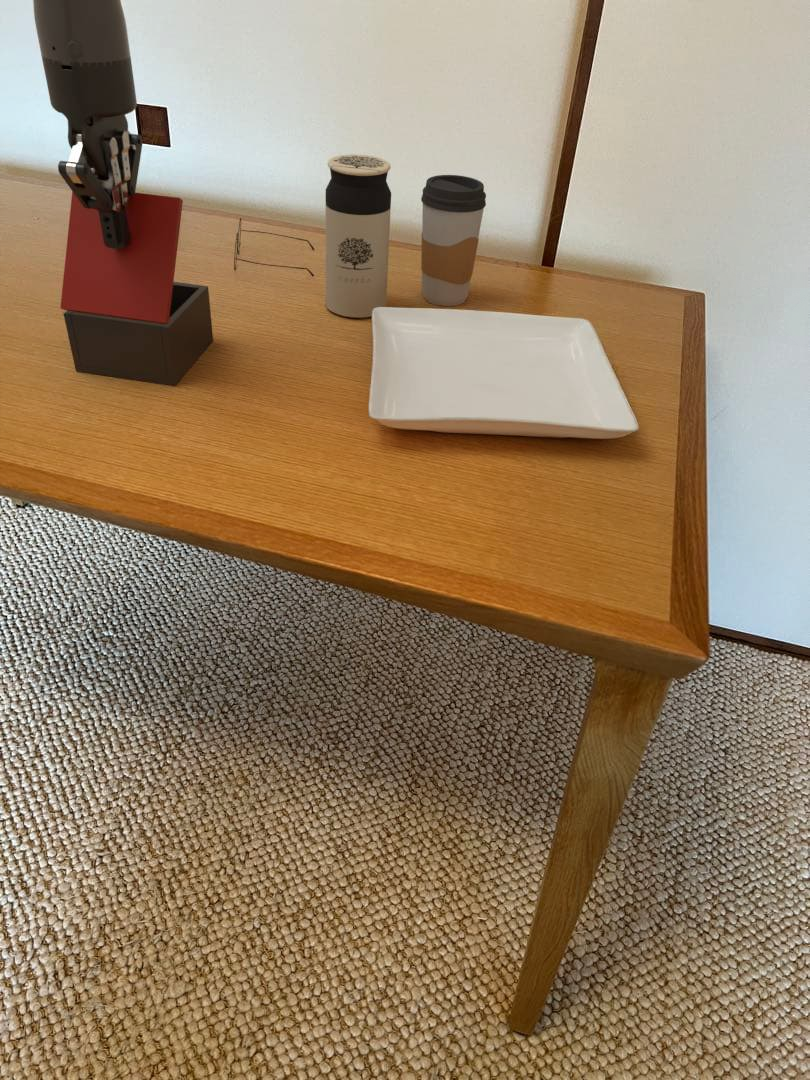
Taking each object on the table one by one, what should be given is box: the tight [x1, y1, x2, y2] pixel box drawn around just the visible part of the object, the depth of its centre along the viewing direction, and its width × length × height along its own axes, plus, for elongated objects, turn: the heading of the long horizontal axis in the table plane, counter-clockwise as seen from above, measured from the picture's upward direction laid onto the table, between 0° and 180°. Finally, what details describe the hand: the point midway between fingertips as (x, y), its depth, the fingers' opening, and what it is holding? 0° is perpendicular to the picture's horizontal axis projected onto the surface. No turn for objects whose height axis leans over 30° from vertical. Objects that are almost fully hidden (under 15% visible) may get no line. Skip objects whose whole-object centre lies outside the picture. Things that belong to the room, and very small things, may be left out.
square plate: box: [368, 306, 640, 440], centre depth 91 cm, size 27×27×4 cm
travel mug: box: [325, 154, 392, 319], centre depth 102 cm, size 8×8×18 cm
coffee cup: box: [420, 174, 487, 307], centre depth 107 cm, size 8×8×15 cm
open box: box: [63, 281, 214, 387], centre depth 92 cm, size 12×12×7 cm
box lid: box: [59, 190, 184, 324], centre depth 84 cm, size 13×12×1 cm
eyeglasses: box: [233, 217, 315, 277], centre depth 117 cm, size 11×13×5 cm
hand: (117, 245), depth 83 cm, fingers closed
